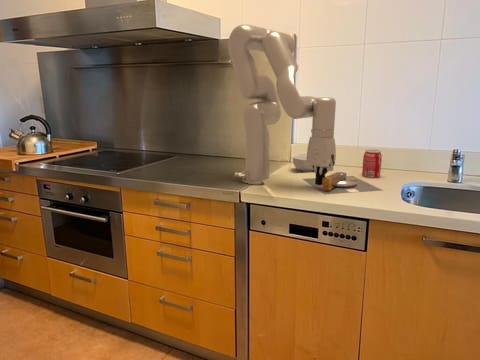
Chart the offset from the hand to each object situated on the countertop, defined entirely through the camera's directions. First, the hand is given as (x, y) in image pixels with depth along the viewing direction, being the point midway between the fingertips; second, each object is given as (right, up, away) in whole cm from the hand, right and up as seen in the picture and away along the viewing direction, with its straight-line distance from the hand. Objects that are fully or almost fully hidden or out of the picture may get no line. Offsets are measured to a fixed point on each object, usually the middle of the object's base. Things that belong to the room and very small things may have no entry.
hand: (319, 184), depth 129 cm
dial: (+7, 0, +3) cm, 7 cm away
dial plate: (+9, -1, +6) cm, 11 cm away
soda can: (+25, +1, +18) cm, 31 cm away
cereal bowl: (+3, +5, +34) cm, 34 cm away
